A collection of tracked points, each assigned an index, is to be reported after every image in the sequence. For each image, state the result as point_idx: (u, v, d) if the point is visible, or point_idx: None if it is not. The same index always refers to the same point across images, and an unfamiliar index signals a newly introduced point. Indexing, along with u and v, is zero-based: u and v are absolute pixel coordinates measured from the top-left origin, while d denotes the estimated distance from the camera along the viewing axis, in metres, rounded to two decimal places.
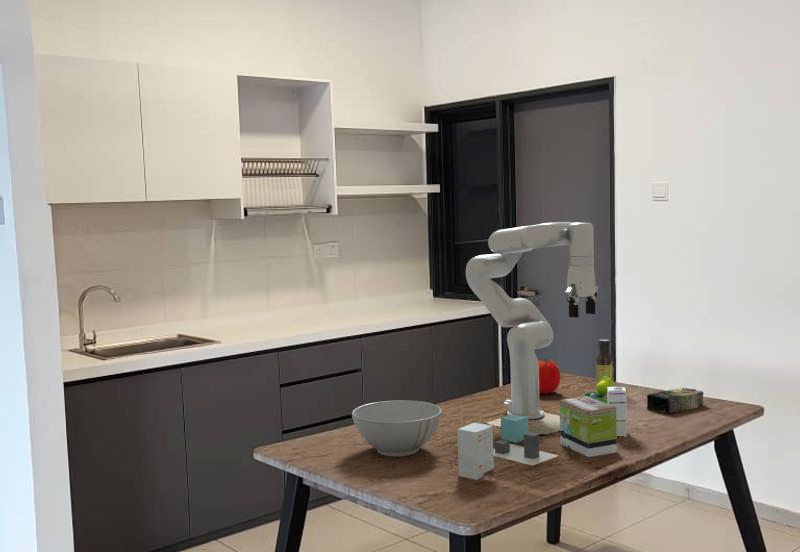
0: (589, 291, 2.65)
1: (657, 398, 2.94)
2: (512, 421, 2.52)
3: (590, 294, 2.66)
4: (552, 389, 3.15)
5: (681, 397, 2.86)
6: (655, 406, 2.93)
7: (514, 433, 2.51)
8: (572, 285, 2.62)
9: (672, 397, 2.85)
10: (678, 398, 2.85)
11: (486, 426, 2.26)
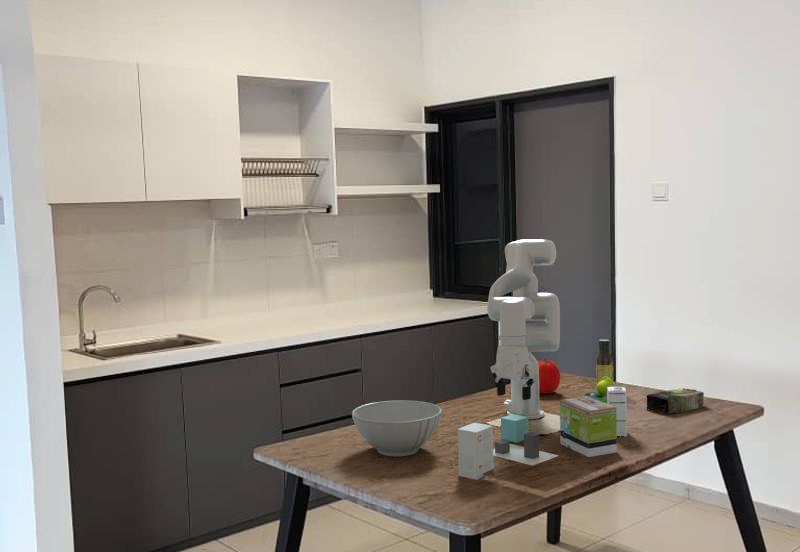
0: None
1: (657, 398, 2.93)
2: (512, 421, 2.52)
3: None
4: (552, 389, 3.15)
5: (681, 397, 2.86)
6: (655, 406, 2.92)
7: (514, 433, 2.51)
8: (527, 366, 2.49)
9: (672, 397, 2.85)
10: (678, 398, 2.85)
11: (486, 426, 2.26)
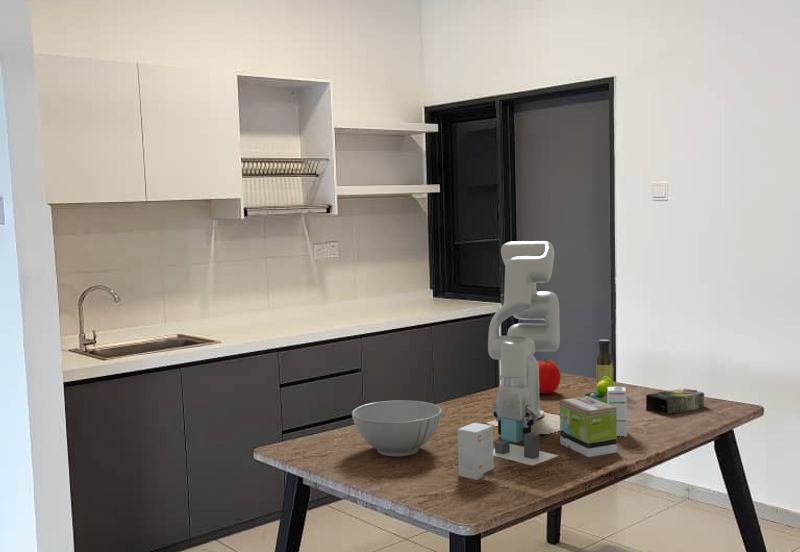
0: None
1: (657, 398, 2.93)
2: (512, 421, 2.52)
3: None
4: (552, 389, 3.15)
5: (680, 398, 2.85)
6: (655, 406, 2.92)
7: (514, 433, 2.51)
8: (527, 406, 2.50)
9: (671, 398, 2.84)
10: (677, 399, 2.84)
11: (486, 426, 2.26)
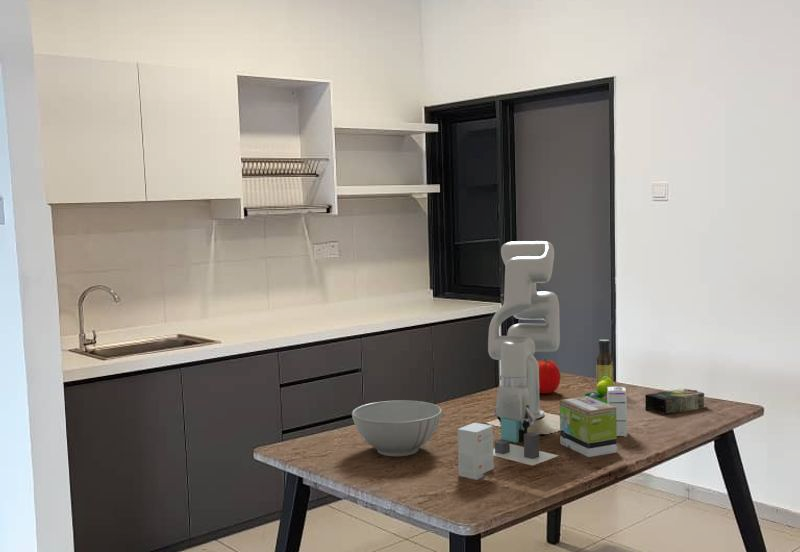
0: None
1: (657, 398, 2.93)
2: (512, 421, 2.51)
3: None
4: (552, 389, 3.15)
5: (679, 398, 2.85)
6: (654, 406, 2.92)
7: (514, 433, 2.51)
8: (527, 408, 2.51)
9: (669, 398, 2.84)
10: (676, 399, 2.84)
11: (486, 426, 2.26)
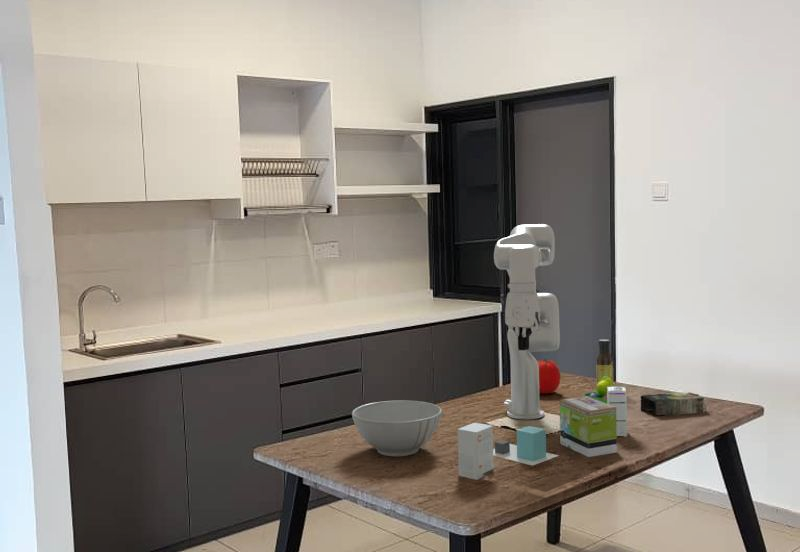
0: None
1: None
2: (529, 434, 2.33)
3: None
4: (552, 389, 3.15)
5: (672, 400, 2.82)
6: (652, 408, 2.90)
7: (531, 447, 2.33)
8: (535, 317, 2.46)
9: (661, 400, 2.82)
10: (668, 401, 2.81)
11: (486, 426, 2.26)
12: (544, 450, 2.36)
